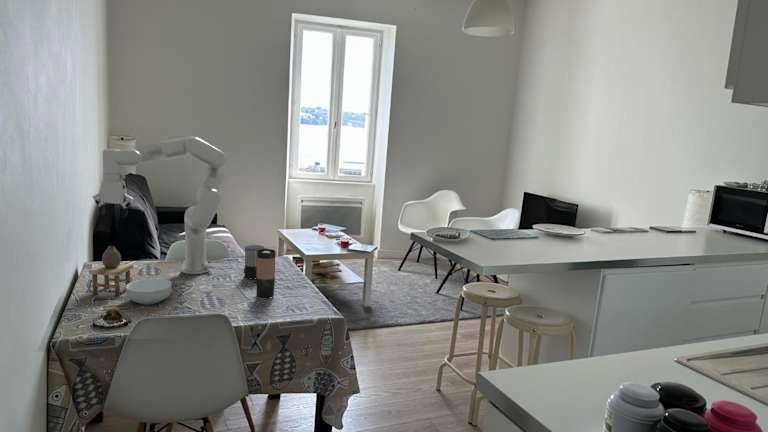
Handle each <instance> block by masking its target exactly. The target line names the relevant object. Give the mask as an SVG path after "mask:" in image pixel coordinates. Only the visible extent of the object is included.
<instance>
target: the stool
mask: <svg viewBox="0 0 768 432" xmlns="http://www.w3.org/2000/svg"><path fill="white" fill-rule="evenodd" d="M132 269H134V264H126V263H120V265H119V266H118V267H117V268H113V269H109V268H106V267H105V266H104V265H103V263H102V264H99V265H97V266H95V267H93V268H91V269H89V270H88V274H89V275H92V277H91V278H92V279H91V281H92V296H98V295H99V292H98V291H99V290H98V288H104V289H106V290H107V289H110V288H111V289H114V297H115V298H116V297H117V298H118V297H120V296H121V287H120V286H121V283H120V282H123V283H125V286H126V285H127V284H129V283H131V270H132ZM123 274H125V278H120V276H122V275H123ZM98 275H99V276H100V275H101V276H103V279H104V282H103V283H98ZM110 276H114V277H110ZM110 282H114V284H110Z"/></svg>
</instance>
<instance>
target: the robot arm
mask: <svg viewBox="0 0 768 432" xmlns="http://www.w3.org/2000/svg"><path fill="white" fill-rule="evenodd" d="M189 156H191V157H193V158H195V159H197V160H199V161H200V162H202V163H204V164H205V165H206V167H207V168H206V171H207V172H206V175H205V177H204V179H203V181H202V183H201V185H200V187H199V189H198V191H197V193H196V196H195V197H196V198H195V199H196V201H197V203H196V204H195V205H193V206H190V207H188V208H186V210H185V213H184V217H183V219H184V221H183V222H184V266H183V267H182V268H181V273H183V274H186V275H201V274H202V275H203V274H205V273H209V271H210V270H214V269H215V265H214V264H212V263H208V261H207V228H208V227H209V226H210V224H212V221H213V219H214V218H215V215H216V214H217V211H218V209H219V207H220V205H221V200H222V196H221V193H220V190H221V188H222V185H223V183H224V182H225V179H226V174H227V173H226V172H227V171H226V170H227V169H226V163H227V157H226V154H225V153H224V152H223V151H222V150H221V149H219V148H216V147H215V146H213V145H211V144H209V143H208V142H206V141H204V140H203V139H201V138H199V137H197V136H193V135H192V136H191V135H190V136H183V137H180V138H174V139H170V140H164V141H158V142H154V143H147V144H143V145H137V146H132V147H128V148H125V149H123V150H122V149H117V148H105V149H103V150H102V180H101V183H100V188H99V189H100V190H99V193H98V194H94V195H93V196H92V198H93V200H94V202H95V204H96V205H97V206H98V208H99V216H101V217H102V216H105V215H106V206H105V205H106V204H114V205H115V204H116V205H117V204H120V206H122V208H121V215H122V216H121V217H122V218H126V217H127V216H128V214H129V213H128V212H129V211H128V209H129V207H130V206H131V205H132V204H133V201H134V200H135V199H134V198H133V197H132V196H130V195H129V194H128V192H127V190H128V189H127V185H126V182H125V180H124V179H126V175H124V173H123V166H124V167H125V166H126V167H133V168H134V167H137V166H139V165H141V163H144V162H149V161H168V160H175V159H179V158H183V157H184V158H185V157H189Z"/></svg>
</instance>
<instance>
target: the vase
mask: <svg viewBox="0 0 768 432" xmlns="http://www.w3.org/2000/svg"><path fill="white" fill-rule="evenodd" d="M121 261H122V257H121V253H120V252H119V251H118V250H117V249H116V247H115V246H114V245H110V246H109V245H108V246H107V249H106V250H105V251H104V252H103V254H102V258H101V262H102V264H103V265H104V266H105V267H106V268H109V269H113V268H117V267H118V266H119V265H120V264H121Z"/></svg>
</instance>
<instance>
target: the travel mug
mask: <svg viewBox="0 0 768 432" xmlns="http://www.w3.org/2000/svg"><path fill="white" fill-rule="evenodd" d="M275 277H276V250H275V249H271V248H270V249H269V248H267V249H261V250H258V251H257V275H256V279H255V280H256V281H255V282H256V285H255V286H256V298H257V297H259V298H270V297H273V296H274V295H275V283H276V282H275V281H276V280H275V279H276V278H275ZM259 298H258V299H259ZM273 298H274V297H273Z"/></svg>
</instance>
